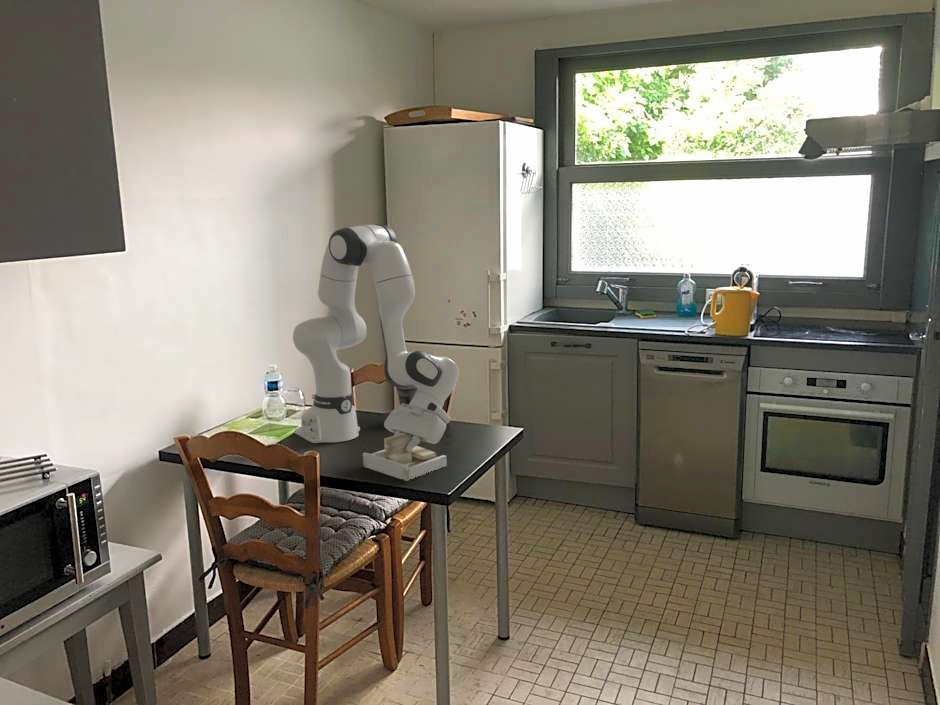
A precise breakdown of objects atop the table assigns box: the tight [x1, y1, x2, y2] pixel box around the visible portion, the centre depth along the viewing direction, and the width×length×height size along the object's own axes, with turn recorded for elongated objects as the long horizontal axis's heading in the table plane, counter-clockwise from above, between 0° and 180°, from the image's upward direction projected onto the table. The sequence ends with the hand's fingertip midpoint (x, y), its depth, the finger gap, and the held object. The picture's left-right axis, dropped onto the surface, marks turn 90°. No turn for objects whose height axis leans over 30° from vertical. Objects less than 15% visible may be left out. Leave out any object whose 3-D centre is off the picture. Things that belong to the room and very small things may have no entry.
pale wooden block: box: [383, 433, 412, 465], centre depth 220 cm, size 4×7×9 cm, turn 138°
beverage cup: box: [396, 385, 417, 405], centre depth 266 cm, size 7×7×20 cm
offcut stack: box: [412, 445, 438, 465], centre depth 226 cm, size 14×6×4 cm, turn 47°
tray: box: [362, 448, 448, 482], centre depth 222 cm, size 18×16×4 cm
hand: (400, 449), depth 220 cm, fingers closed on pale wooden block, 3 cm apart
